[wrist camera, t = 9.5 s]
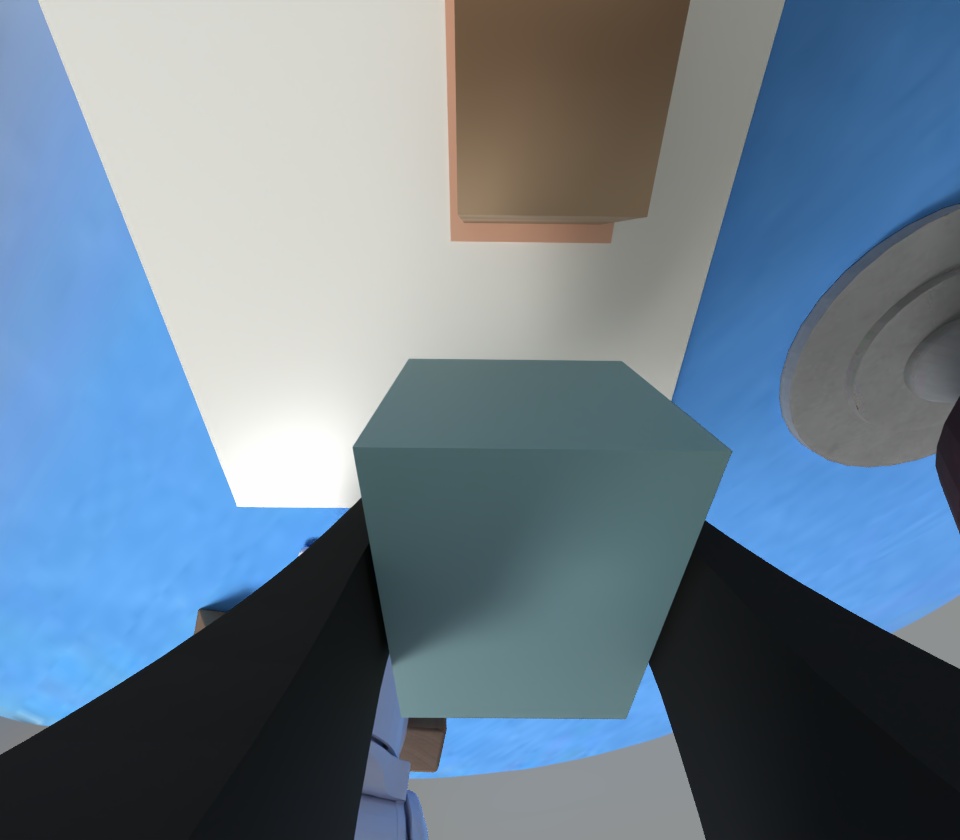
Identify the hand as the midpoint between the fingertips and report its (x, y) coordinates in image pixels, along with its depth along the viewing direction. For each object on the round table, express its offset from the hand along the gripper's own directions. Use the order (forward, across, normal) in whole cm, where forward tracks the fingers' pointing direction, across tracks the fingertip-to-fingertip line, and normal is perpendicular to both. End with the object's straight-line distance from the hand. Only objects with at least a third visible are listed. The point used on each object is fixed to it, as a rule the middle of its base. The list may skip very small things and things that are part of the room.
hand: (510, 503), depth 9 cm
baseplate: (+9, +3, -4) cm, 10 cm away
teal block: (+1, 0, 0) cm, 1 cm away
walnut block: (+8, -1, -10) cm, 13 cm away
